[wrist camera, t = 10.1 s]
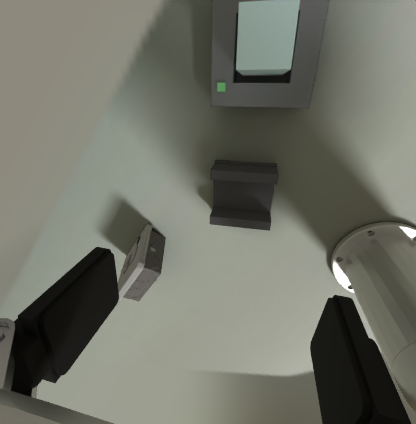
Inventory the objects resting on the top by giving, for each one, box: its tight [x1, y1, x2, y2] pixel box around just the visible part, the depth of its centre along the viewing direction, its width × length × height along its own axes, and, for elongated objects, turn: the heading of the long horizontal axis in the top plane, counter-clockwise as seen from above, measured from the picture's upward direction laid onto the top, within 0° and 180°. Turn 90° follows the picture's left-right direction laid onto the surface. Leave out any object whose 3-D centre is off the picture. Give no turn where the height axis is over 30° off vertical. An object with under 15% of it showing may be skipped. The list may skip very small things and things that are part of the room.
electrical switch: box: [118, 224, 166, 302], centre depth 38 cm, size 9×5×9 cm, turn 146°
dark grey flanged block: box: [210, 160, 278, 230], centre depth 32 cm, size 8×8×4 cm
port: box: [211, 0, 329, 108], centre depth 25 cm, size 10×10×5 cm
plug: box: [236, 0, 300, 77], centre depth 21 cm, size 4×4×10 cm
